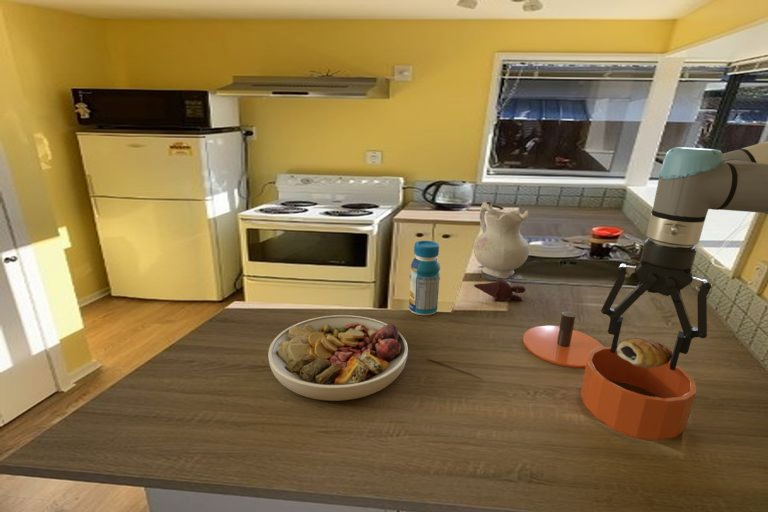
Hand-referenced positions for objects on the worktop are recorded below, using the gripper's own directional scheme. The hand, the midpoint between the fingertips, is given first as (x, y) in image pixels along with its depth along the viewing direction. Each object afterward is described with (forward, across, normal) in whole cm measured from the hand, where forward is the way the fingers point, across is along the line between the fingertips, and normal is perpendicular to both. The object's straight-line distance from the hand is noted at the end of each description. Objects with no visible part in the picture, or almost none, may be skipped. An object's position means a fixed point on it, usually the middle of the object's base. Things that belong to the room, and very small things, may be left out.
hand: (641, 357), depth 79 cm
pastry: (0, 0, 0) cm, 0 cm away
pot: (+11, 0, 0) cm, 11 cm away
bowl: (+12, -55, -22) cm, 60 cm away
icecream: (+12, -39, +34) cm, 53 cm away
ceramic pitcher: (+12, -49, +59) cm, 77 cm away
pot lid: (+11, -16, +16) cm, 25 cm away
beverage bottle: (+12, -54, +14) cm, 57 cm away
